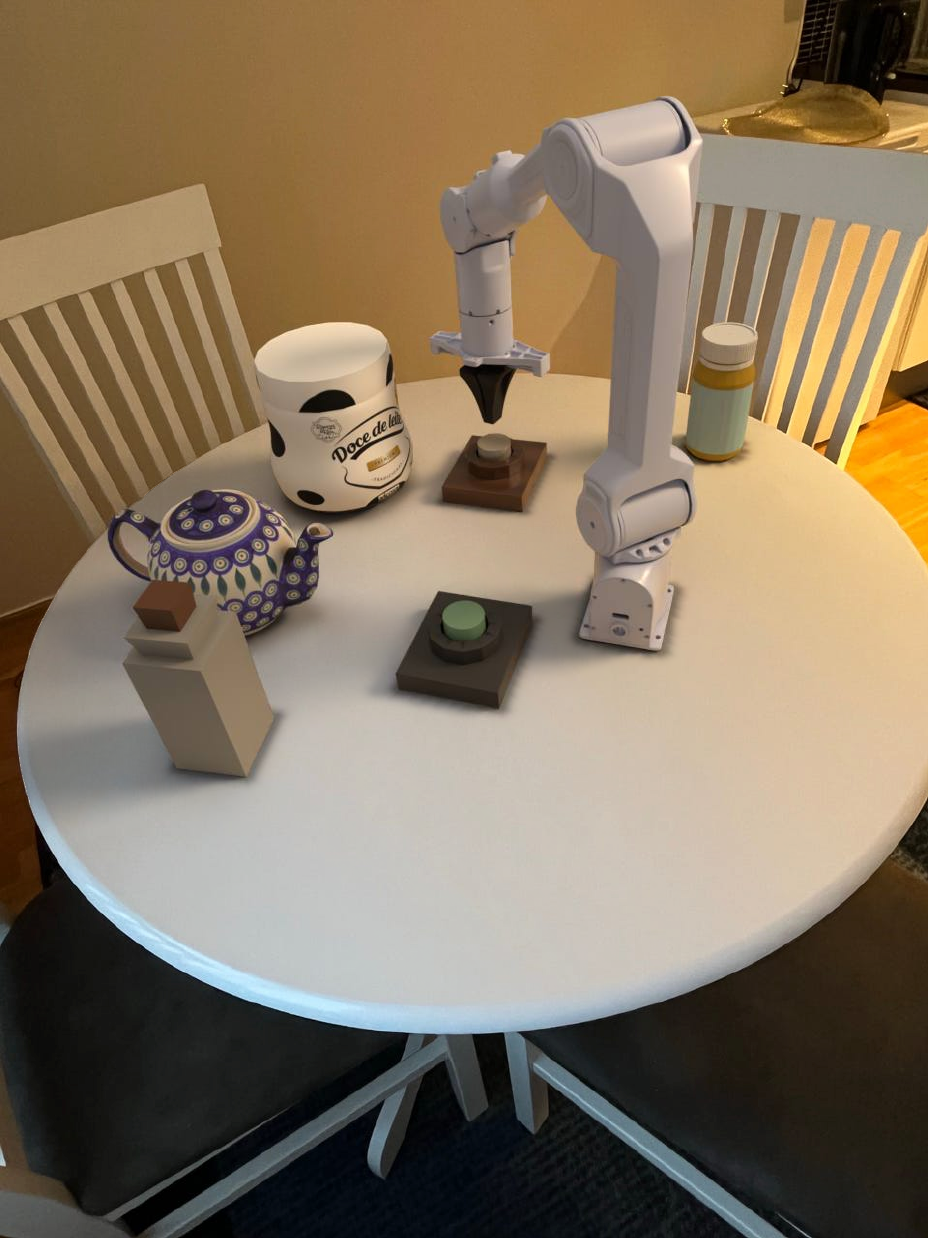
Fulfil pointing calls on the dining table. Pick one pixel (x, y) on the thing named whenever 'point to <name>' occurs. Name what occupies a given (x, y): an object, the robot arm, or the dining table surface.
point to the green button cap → (464, 621)
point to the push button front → (466, 653)
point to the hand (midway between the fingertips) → (492, 419)
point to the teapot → (228, 553)
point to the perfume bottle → (197, 679)
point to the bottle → (721, 391)
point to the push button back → (495, 476)
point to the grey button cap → (494, 447)
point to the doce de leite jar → (334, 416)
